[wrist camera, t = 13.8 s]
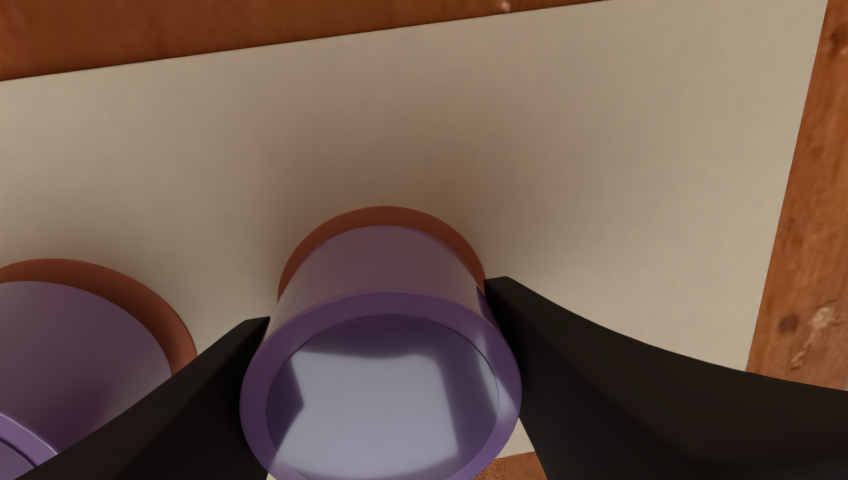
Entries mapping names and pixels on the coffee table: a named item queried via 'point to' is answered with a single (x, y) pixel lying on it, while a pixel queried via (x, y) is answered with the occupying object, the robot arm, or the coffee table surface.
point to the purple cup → (380, 366)
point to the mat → (428, 166)
